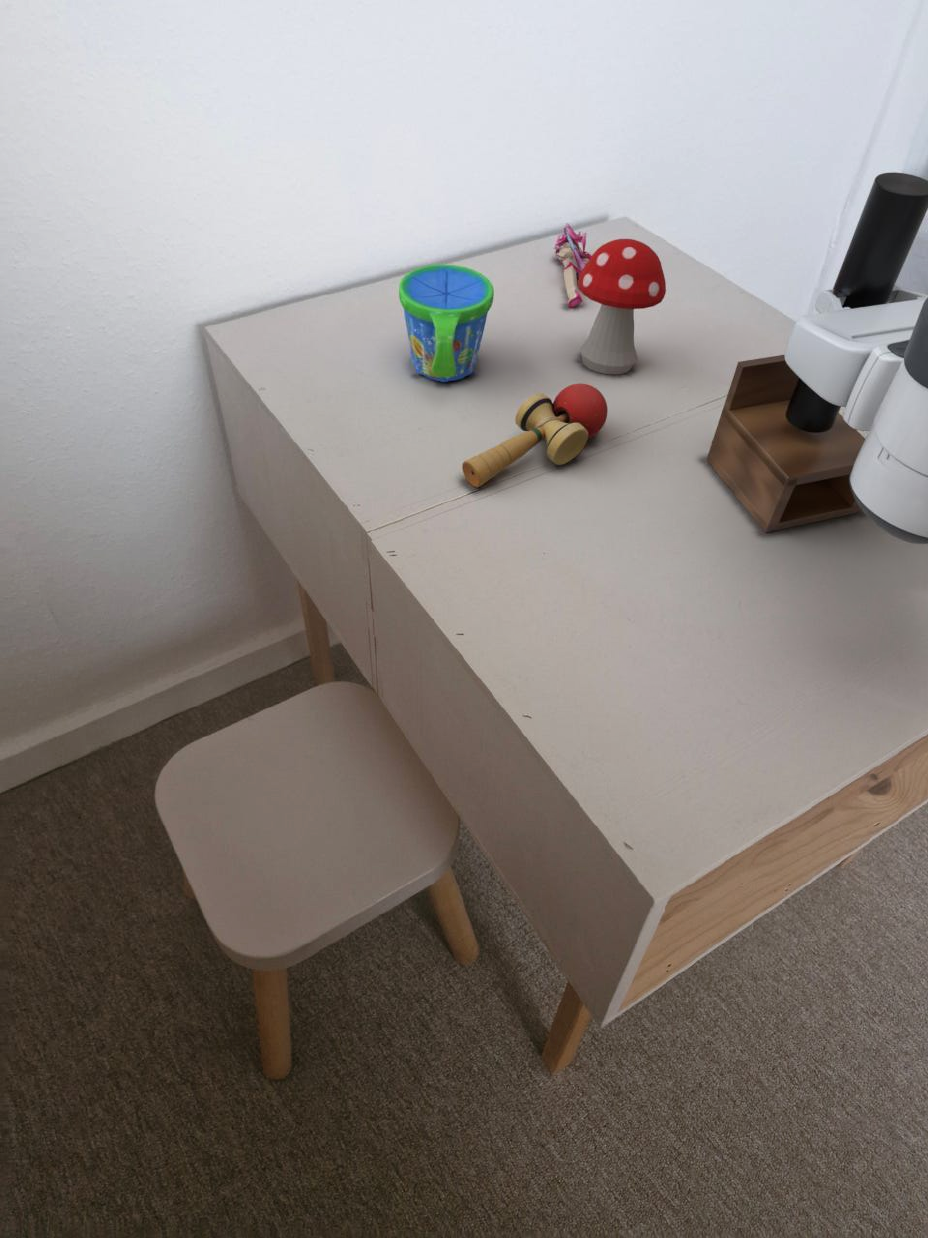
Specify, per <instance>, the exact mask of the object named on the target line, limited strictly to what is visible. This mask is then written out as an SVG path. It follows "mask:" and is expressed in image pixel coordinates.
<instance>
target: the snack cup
mask: <svg viewBox="0 0 928 1238" xmlns="http://www.w3.org/2000/svg"><path fill="white" fill-rule="evenodd" d="M494 293H495V291H494V286H493V284H492V282H491V280H489V278H487V277H486V275H484V274H483V273H481V272H479V271H477V270H474V269H472V268H469V267H466V266H461V265H455V264H430V265H429V264H428V265H425V266H420V267H417V268H415V269H413V270H410V271H409V272H407V273H406V274H405V275H404V276H403V277H402V278H401V280H400V282H399V285H398V299H399V303H400V304H401V307H402V309H403V312H404V320H405V326H406V333H407V340H408V345H409V353H410V355H411V360H412V361H411V362H412V364H413V366H414V369H415V371H416V373H417V375H422V376H424V377H426V378H428V379H430V380H433V381H439V382H440V383H448V382H452V381H453V382H454V381H458V380H461V379H464V378H465V377H467V376H470V375H471V374H472V373H473V371H474V369H475V366H476V364H477V361H478V356H479V353H480V348H481V342H482V340H483V336H484V331H485V327H486V324H487V323H486V322H487V318H488V314H489V311H490V309H491V308H492V305H493V302H494Z"/></svg>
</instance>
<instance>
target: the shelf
mask: <svg viewBox="0 0 928 1238" xmlns="http://www.w3.org/2000/svg"><path fill="white" fill-rule="evenodd" d="M784 355H785V354H779V355H772V356H767V357H766V356H765V357H760V358H753V359H748V360H742V361H741V360H740V361H738V362H737V364H736V367H735V370H734V373H733V377H732V380H731V383H730V386H729V388H728V392H727V395H726V398H725V401H724V404H723V408H722V411H721V414H720V417H719V419H718V422H717V426H716V429H715V432H714V435H713V438H712V441H711V444H710V447H709V451H708V454H707V457H706V461H707V462H708V464H709V465H710V466H711V467H712V469H713V470H714V471H715V472H716V474H717V475H718V476H719V477H720V479H721V480H722V481H723V482H724V484H725V485H726V486H727V487H728V488H729V490H730V491H731V492H732V493H733V494H734V496H735V497H736V498H737V499H738V501H739V502H740V503H741V505H743V507H744V508H745V510H746V511H747V512H748V513H749V514H750V515H751V517H752V518H753V519H754V521H755V522H756V523H757V524H758V526H759V527H760V528H761V529H762V531H763V532H764V533H770V532H774V531H775V532H776V531H779V530H784V529H788V528H789V529H790V528H793V527H799V526H803V525H808V524H812V523H817V522H821V521H826V520H831V519H837V518H840V517H844V516H850V515H855V514H858V513H859V510H860V509H861V508H860V507H859V505H858V504H857V502H856V500H855V498H854V496H853V494H852V491H851V488H850V484H849V476H850V473H851V471H852V469H853V466H854V463H855V461H856V458H857V456H858V454H859V452H860V450H861V448H862V445H863V443H864V441H865V439H866V437H865V436H863V434H861V433H860V432H859V430H855V429H853V428H852V427H850V426H849V425H848V424H847V423H846V422H845V421H844V419H843V414H841V413H840V412H839V413H838V415H837V417H836V420H835V422H834V424H833V427H832V428H831V429H830V430H828V431H826V432H822V433H812V432H806V431H803V430H800V429H798V428H796V427H794V426H793V425H791V424H790V423H789V422H788V420H787V419H786V416H785V413H786V410H787V407H788V405H789V402H790V400H791V397H792V394H793V392H794V389H795V386H796V384H797V381H798V379H799V377H798V376H797V375H796V374H795V373H794V372H793V370H792V369H791V368H790V367H789V366H788V365H787V363H786V361H785V357H784Z"/></svg>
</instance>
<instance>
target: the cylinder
mask: <svg viewBox="0 0 928 1238" xmlns="http://www.w3.org/2000/svg"><path fill="white" fill-rule="evenodd" d="M927 212H928V180H927V179H925V178H922V177H921V176H918V175H914V174H909V173H904V172H895V171H893V172H883V173H880V174H878V175H877V176H876V177H874V180H873V183H872V186H871V188H870V191H869V193H868V196H867V199H866V201H865V204H864V206H863V209H862V212H861V214H860V217H859V219H858V222H857V225H856V227H855V230H854V232H853V235H852V238H851V240H850V243H849V246H848V248H847V250H846V253H845V256H844V258H843V262H842V264H841V267H840V268H839V272H838V274H837V277H836V279H835V282H834V285H833V287H832V289H838V290H839V292H841V293H843V294H844V295H845V296H847V298H846V301H845V303H844V305H843V306H842V308H844V307H849V308H851V309H854V308H861V307H868V306H875V305H882V304H886V303H887V301H888V299H889V296H890V294H891V292H892V290H893V287H894V285H895V283H896V282H897V280H898V278H899V276H900V274H901V271H902V269H903V267H904V264H905V262H906V259H907V258H908V256H909V253H910V250H911V248H912V246H913V244H914V241H915V239H916V237H917V235H918V233H919V230H920V228H921V225H922V223H923V221H924V219H925V216H926V214H927ZM841 408H842V407H840V406H837V405H834V404H832V403H830V402H828V401H826V400H824V399H823V398H822V397H820V396H819V395H818V394H817V393H815V392H814V391H813V390H812V389H811V388H810V387H809V386H808V385H807V384H805V383H804V382H803V381H802V380H801V379H800V378H799V379H798V381H797V384H796V386H795V389H794V392H793V394H792V397H791V400H790V402H789V405H788V407H787V410H786V413H785V416H786V419H787V420H788V422H789V423H790V424H791V425H793V426H794V427H796V428H798V429H800V430H803V431H806V432H812V433H822V432H826V431H828V430H830V429H831V428H832V427H833V424H834V422H835V420H836V417H837V415H838V413H840V411H841Z"/></svg>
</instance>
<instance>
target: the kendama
mask: <svg viewBox="0 0 928 1238" xmlns="http://www.w3.org/2000/svg"><path fill="white" fill-rule="evenodd" d="M608 412H609V411H608V403H607V400H606V398H605V397H604V395H603V394H602V392H601V391H600V390H599V389H598V388H596V387H595V386H593V385H591V384H588V383H581V382H580V383H572V384H570V385H568V386H566V387H564V388H563V389H561V390H560V391H559V392H558V393H557V395H556V396H555V398H554V400H552V399H551V398H550V397H549V396H548V395H547V394H544V393H541V392H540V393H539V392H537V393H534V394H533V395H530V396H529V397H528V398H527V399H526V400H524V401H523V403H522V404H521V405H520V407H519V408H518V410H517V412H516V413H515V424H516V425H517V427H518V428H519V429H520V430H521V431H524V432H523V433H521V434H518V435H516V436H513V437H511V438H509V439H507V440H505V441H502V442H501V443H499V444H497V445H495V446H493V447H491V448H489V449H487V450H485V451H484V452H483V451H482V452H481V453H479V454H477V455H474V456H472V457H470V458H469V459H466V460H464V461H463V462H462V464H461V469H462V472H463V475H464V477H465V479H466V480H467V482H468V483H469V484H470V485H471V486H472V487H474V488H479V487H481V486H483V485H484V484H485V483H487V482H488V481H489V480H490V479H492V478H494V477H495V476H496V475H497V474H499V473H500V472H502V471H503V470H505V469H506V468H507V467H509V466H510V465H512V464H513V463H515V462H516V461H517V460H519V459H520V458H522V457H523V456H524V455H526V454H527V453H528V452H529V451H530V450H532V449H533V448H534V447H535V446H537V445H538V444H539V443H540V442H541V441H542V440H544V441H545V443H546V457H547V458H548V459H549V460H550V461H551V462H552V463H554V464H555V465H556V466H561V465H562V466H563V465H565V464H567V463H569V462H571V461H572V460H573V459H574V458H576V457H577V456H578V455H579V454H580V453H581V452H582V451H583V449H584V447H585V446H586V443H587V441H588V439H591V438H594V437H595V436H596V435H598V433H599V432H600V431H601V430H602V429H603V427H604V426H605V423H606V421H607V418H608Z"/></svg>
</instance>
